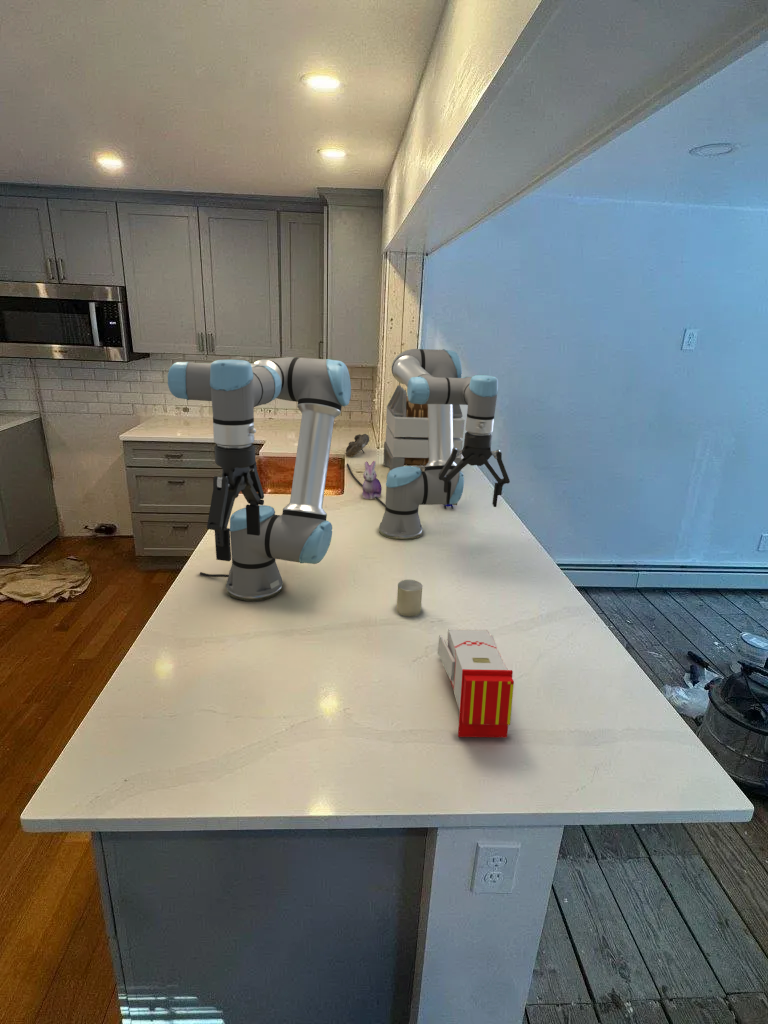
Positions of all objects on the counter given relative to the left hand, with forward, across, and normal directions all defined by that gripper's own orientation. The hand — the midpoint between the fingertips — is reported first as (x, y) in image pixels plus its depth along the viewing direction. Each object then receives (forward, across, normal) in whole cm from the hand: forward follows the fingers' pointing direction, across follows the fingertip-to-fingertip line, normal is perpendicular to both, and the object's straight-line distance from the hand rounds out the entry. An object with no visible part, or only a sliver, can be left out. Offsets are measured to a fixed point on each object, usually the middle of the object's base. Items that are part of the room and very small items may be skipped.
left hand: (239, 546), depth 115 cm
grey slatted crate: (+28, +166, -14) cm, 168 cm away
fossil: (+28, +193, +25) cm, 196 cm away
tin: (+28, +33, -31) cm, 53 cm away
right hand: (+6, +61, -43) cm, 75 cm away
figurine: (+28, +123, 0) cm, 126 cm away
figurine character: (+28, +122, -32) cm, 129 cm away
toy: (+28, +3, -49) cm, 56 cm away
